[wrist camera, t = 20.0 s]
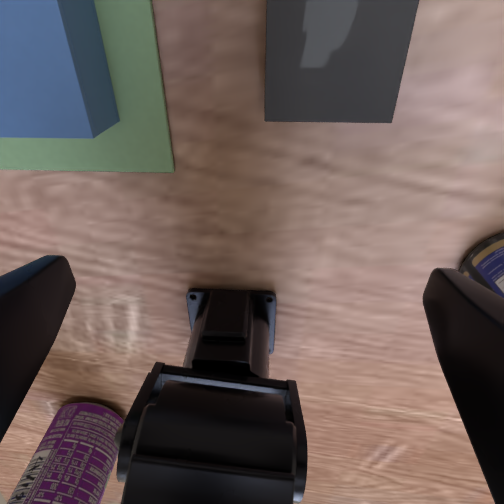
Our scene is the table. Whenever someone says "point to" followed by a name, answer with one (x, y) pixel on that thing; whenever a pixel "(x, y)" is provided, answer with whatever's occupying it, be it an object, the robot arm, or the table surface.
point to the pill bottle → (487, 264)
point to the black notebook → (335, 59)
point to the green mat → (127, 100)
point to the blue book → (53, 71)
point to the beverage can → (72, 458)
